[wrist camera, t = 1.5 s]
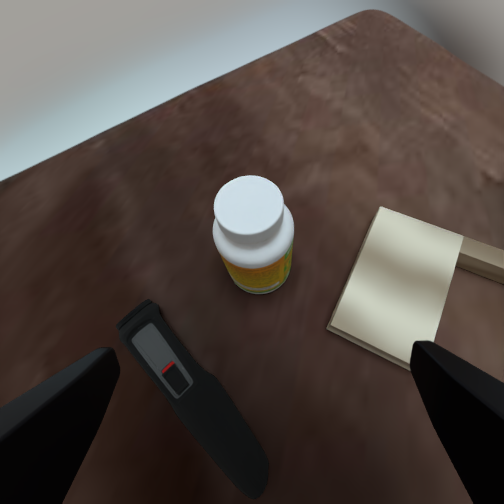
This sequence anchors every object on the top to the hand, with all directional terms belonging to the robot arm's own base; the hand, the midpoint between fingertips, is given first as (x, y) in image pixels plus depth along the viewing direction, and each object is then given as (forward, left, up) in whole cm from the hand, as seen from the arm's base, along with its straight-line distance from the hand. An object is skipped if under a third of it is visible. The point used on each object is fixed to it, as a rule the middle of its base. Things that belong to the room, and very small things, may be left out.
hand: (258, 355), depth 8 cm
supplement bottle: (+4, +7, -14) cm, 16 cm away
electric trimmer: (-5, +3, -14) cm, 16 cm away
